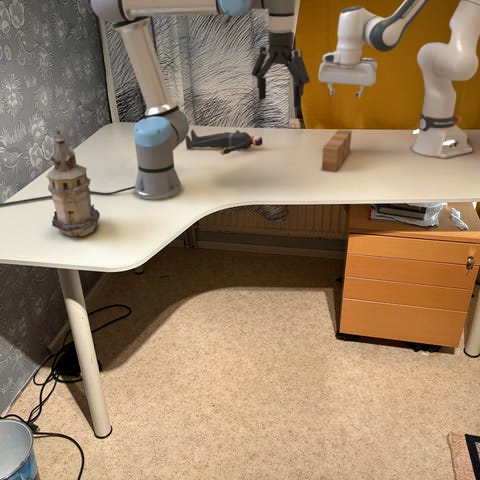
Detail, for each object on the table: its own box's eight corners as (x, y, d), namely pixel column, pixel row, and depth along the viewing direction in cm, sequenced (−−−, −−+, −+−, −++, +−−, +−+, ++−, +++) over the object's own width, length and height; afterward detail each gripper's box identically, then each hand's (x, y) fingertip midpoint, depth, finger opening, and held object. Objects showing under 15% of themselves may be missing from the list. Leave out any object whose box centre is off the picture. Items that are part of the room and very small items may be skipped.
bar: (335, 172, 191) (337, 149, 186) (321, 170, 192) (323, 147, 188) (349, 151, 209) (351, 130, 204) (337, 149, 210) (338, 129, 206)
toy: (197, 123, 225) (267, 123, 219) (198, 137, 228) (268, 138, 222) (178, 143, 203) (256, 144, 197) (180, 159, 206) (257, 160, 200)
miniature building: (80, 214, 164) (63, 117, 149) (111, 225, 157) (96, 125, 142) (44, 231, 154) (22, 130, 140) (75, 244, 147) (55, 139, 133)
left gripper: (323, 33, 154) (319, 106, 164) (255, 26, 168) (255, 94, 178) (309, 36, 149) (305, 112, 159) (240, 28, 163) (241, 98, 173)
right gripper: (380, 56, 187) (375, 96, 194) (323, 53, 194) (320, 91, 201) (376, 60, 182) (372, 100, 189) (318, 56, 189) (315, 95, 196)
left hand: (279, 102), depth 169 cm, fingers open, 13 cm apart
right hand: (345, 96), depth 195 cm, fingers open, 8 cm apart
